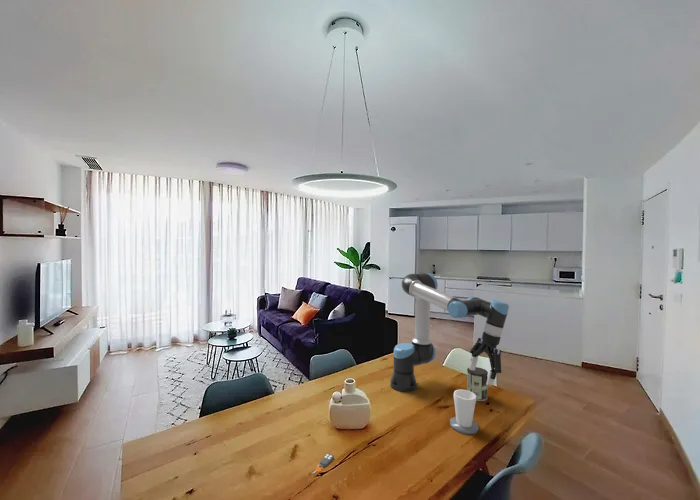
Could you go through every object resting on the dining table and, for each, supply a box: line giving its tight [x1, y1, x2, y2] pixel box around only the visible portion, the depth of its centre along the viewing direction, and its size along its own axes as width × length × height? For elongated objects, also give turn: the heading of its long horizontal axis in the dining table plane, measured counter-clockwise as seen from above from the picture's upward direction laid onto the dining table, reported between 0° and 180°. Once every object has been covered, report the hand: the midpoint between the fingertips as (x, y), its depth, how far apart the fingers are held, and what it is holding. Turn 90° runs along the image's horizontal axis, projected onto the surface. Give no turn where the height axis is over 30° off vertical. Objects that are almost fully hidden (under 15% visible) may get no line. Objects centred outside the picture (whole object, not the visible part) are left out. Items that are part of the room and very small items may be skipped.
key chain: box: [312, 453, 335, 474], centre depth 111 cm, size 13×4×2 cm, turn 152°
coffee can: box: [466, 366, 489, 402], centre depth 165 cm, size 10×10×14 cm
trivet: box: [449, 415, 479, 435], centre depth 137 cm, size 12×12×1 cm
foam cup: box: [453, 389, 477, 427], centre depth 137 cm, size 10×9×13 cm
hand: (480, 377), depth 143 cm, fingers open, 13 cm apart
